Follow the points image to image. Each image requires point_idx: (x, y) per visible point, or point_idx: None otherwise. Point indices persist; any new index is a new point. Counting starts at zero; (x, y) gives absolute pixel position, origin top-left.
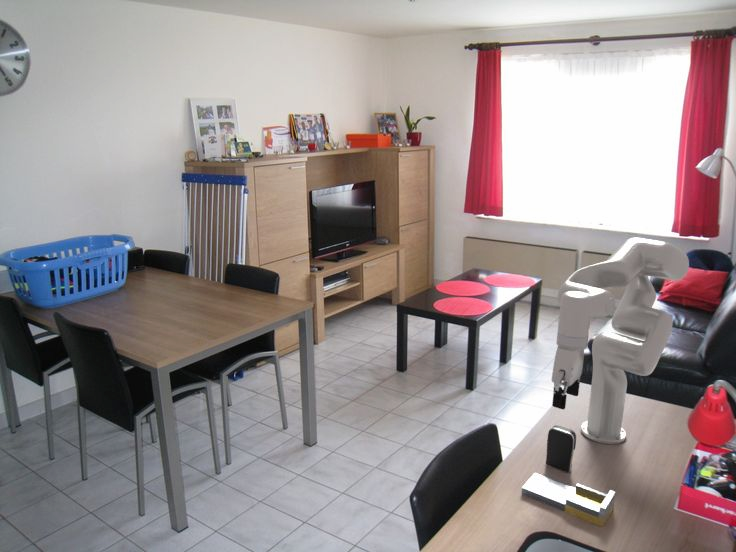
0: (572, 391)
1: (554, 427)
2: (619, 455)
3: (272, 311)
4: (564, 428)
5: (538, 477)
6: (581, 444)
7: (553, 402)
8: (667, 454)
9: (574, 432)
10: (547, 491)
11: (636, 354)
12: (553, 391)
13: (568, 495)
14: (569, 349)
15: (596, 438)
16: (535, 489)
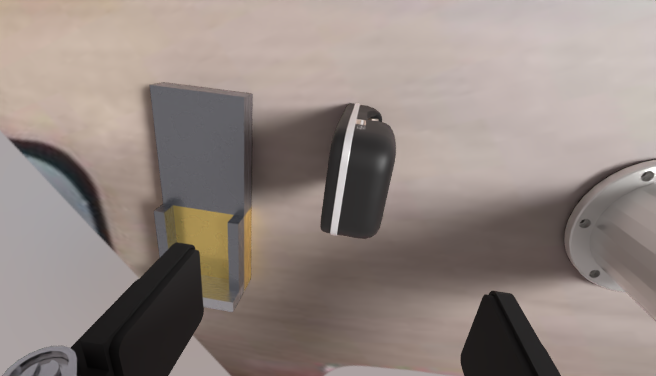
0: (479, 358)
1: (355, 158)
2: (506, 275)
3: None
4: (364, 202)
5: (227, 114)
6: (535, 177)
7: (158, 266)
8: (558, 366)
9: (366, 237)
10: (181, 154)
11: None
12: (12, 366)
13: (202, 203)
14: None
15: (576, 221)
16: (167, 122)
